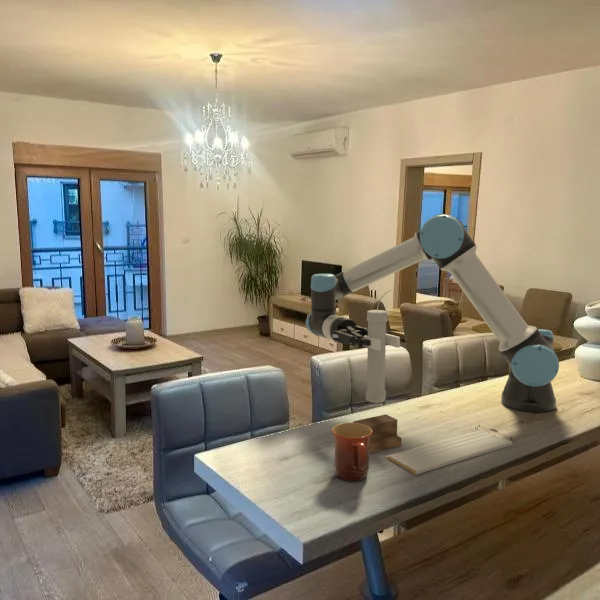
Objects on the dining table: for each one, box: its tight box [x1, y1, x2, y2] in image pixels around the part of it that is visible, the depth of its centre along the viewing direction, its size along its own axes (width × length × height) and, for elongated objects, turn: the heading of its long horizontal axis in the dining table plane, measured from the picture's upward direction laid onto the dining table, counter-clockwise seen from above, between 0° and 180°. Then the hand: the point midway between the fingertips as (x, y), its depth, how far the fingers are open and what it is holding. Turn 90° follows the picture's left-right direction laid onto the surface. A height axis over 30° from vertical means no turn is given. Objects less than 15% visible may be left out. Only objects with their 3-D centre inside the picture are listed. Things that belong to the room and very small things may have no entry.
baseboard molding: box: [384, 424, 513, 476], centre depth 130 cm, size 31×3×12 cm
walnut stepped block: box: [352, 413, 402, 454], centre depth 133 cm, size 10×8×6 cm
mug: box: [331, 422, 373, 482], centre depth 115 cm, size 12×9×10 cm
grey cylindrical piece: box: [364, 289, 392, 404], centre depth 143 cm, size 6×6×30 cm
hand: (389, 343), depth 139 cm, fingers closed on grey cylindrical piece, 5 cm apart
